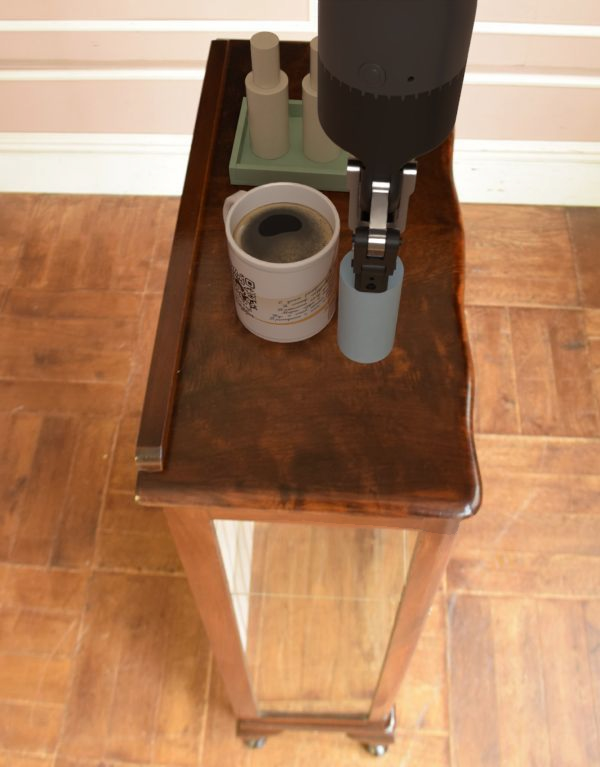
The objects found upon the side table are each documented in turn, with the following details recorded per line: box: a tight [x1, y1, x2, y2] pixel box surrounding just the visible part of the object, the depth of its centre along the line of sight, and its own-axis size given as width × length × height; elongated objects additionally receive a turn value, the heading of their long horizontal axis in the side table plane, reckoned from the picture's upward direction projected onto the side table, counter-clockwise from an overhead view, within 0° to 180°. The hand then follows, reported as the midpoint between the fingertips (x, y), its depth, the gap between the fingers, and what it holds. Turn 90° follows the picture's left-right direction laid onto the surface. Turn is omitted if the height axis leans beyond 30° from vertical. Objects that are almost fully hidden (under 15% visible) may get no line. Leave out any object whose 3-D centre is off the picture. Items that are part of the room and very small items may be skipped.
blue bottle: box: [336, 231, 405, 364], centre depth 55 cm, size 4×4×13 cm
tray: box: [228, 96, 360, 193], centre depth 85 cm, size 19×11×2 cm, turn 84°
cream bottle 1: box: [244, 31, 290, 159], centre depth 80 cm, size 4×4×13 cm
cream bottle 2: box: [301, 35, 342, 163], centre depth 80 cm, size 4×4×13 cm
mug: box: [222, 182, 341, 344], centre depth 71 cm, size 10×12×11 cm
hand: (371, 267), depth 53 cm, fingers closed on blue bottle, 3 cm apart
